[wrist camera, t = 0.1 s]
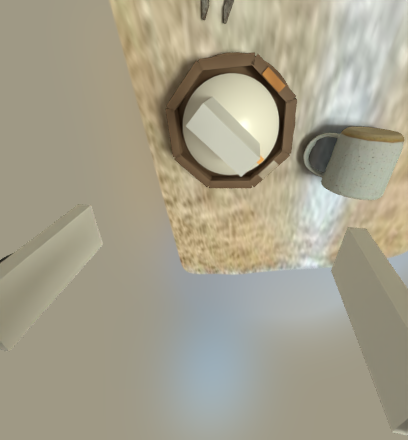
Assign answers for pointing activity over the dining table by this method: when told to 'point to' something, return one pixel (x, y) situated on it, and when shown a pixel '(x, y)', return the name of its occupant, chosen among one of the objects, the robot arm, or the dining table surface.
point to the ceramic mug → (359, 161)
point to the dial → (230, 124)
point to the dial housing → (239, 65)
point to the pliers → (226, 9)
